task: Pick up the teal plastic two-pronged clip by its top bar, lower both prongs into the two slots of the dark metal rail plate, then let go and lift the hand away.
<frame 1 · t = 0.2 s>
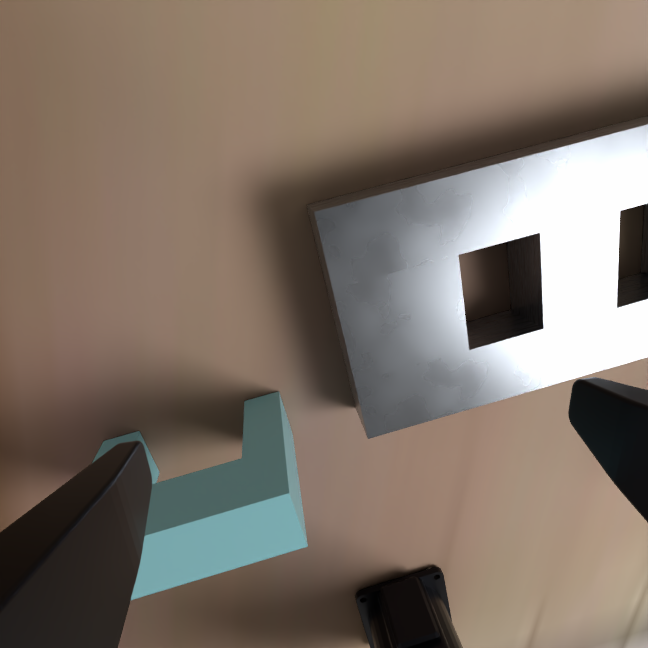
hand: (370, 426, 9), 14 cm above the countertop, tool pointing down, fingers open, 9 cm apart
rail plate: (542, 258, 24), on the countertop
clip: (201, 437, 25), on the countertop
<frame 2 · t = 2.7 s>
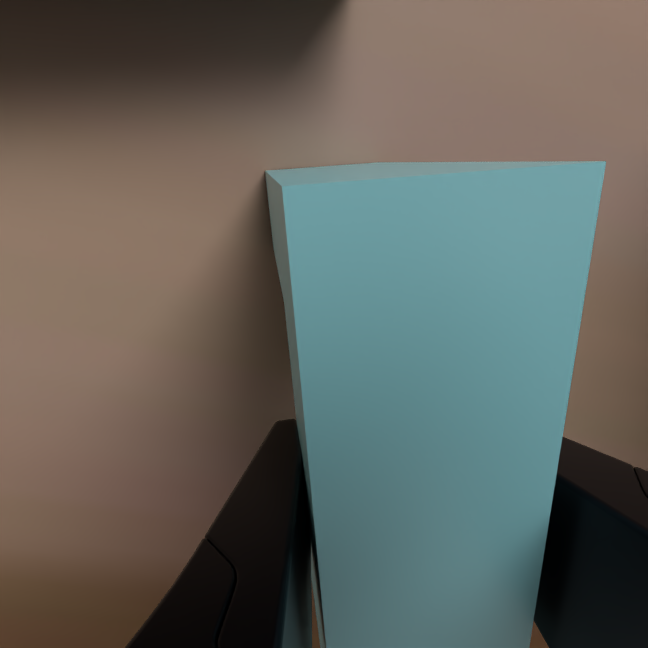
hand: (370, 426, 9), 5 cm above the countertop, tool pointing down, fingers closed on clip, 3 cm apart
clip: (333, 342, 13), on the countertop, touching gripper
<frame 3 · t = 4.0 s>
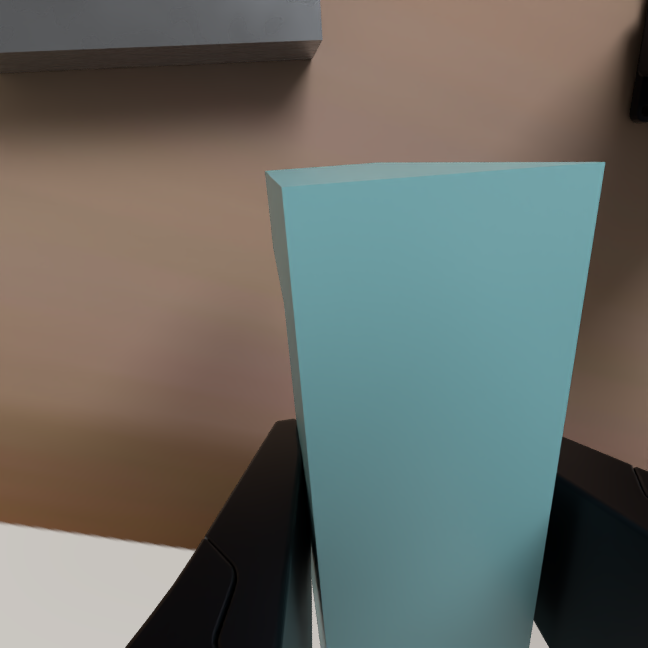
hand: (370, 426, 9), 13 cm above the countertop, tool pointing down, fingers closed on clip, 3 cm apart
clip: (333, 342, 13), point 8 cm above the countertop, touching gripper
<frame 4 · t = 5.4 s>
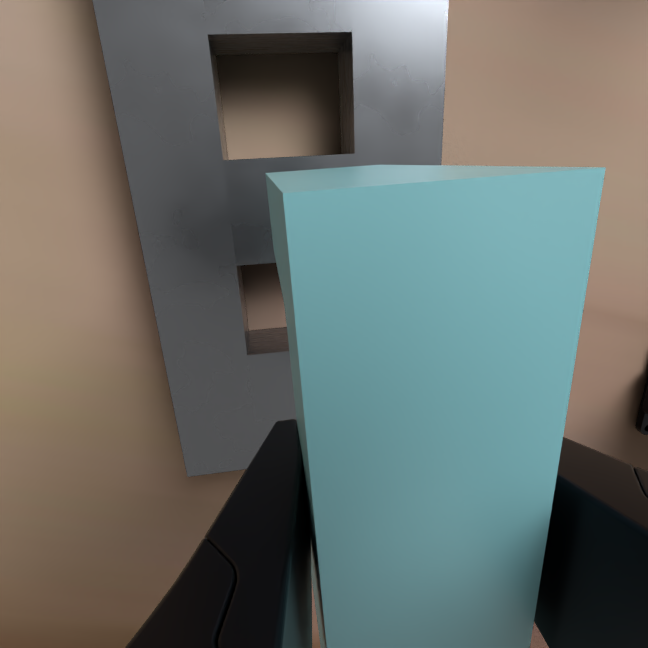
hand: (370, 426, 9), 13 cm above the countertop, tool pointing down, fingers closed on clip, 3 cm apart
rail plate: (289, 204, 20), on the countertop
clip: (334, 343, 13), point 9 cm above the countertop, touching gripper
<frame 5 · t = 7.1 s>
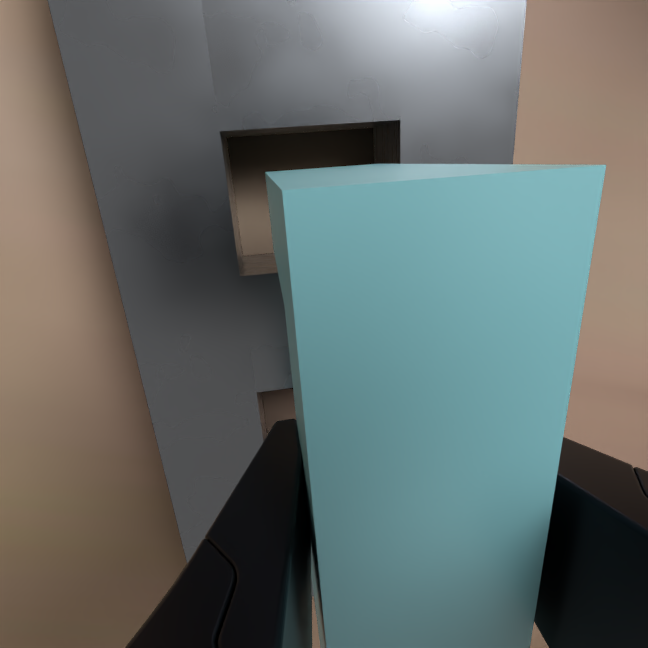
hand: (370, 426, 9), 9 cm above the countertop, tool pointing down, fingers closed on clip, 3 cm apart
rail plate: (314, 300, 17), on the countertop
clip: (333, 343, 13), point 4 cm above the countertop, touching gripper
when the fingers open (6 cm above the countertop, at t = 8.4 s): clip drops 1 cm, on the countertop.
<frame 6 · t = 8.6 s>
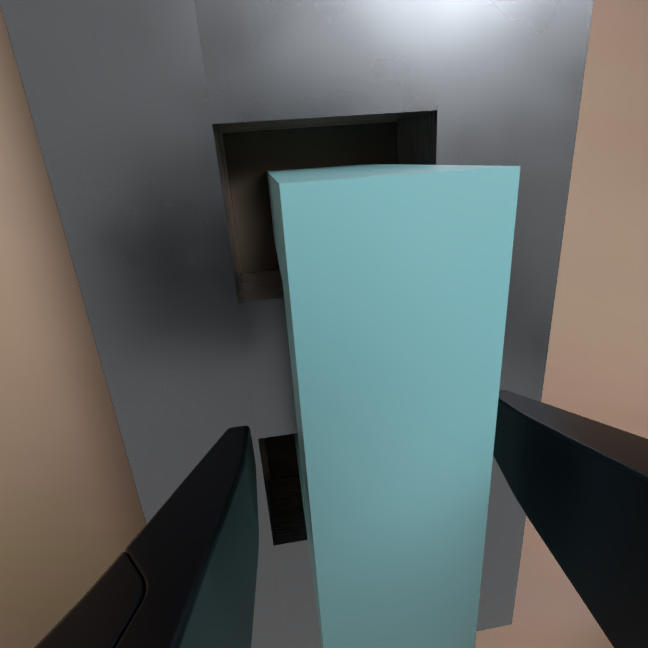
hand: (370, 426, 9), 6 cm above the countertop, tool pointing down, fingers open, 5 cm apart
rail plate: (325, 324, 14), on the countertop
clip: (328, 326, 14), on the countertop
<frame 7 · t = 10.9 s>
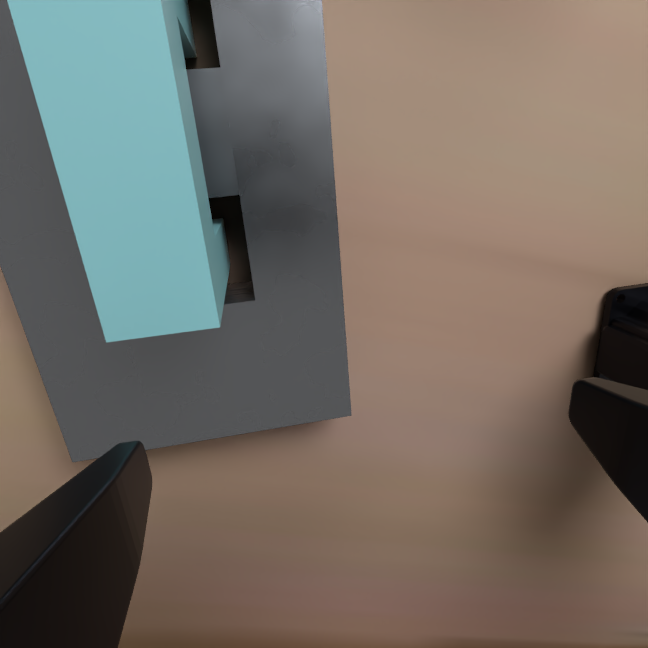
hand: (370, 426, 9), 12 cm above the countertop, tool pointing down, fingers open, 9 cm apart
rail plate: (169, 143, 17), on the countertop
clip: (172, 145, 17), on the countertop
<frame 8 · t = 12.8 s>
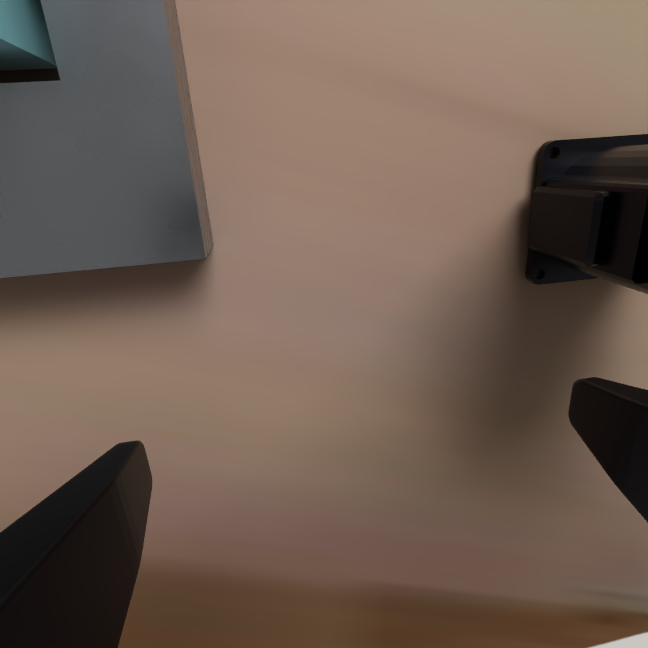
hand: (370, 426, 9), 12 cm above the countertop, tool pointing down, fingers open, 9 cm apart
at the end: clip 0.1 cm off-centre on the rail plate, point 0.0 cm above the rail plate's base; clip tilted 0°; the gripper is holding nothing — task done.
